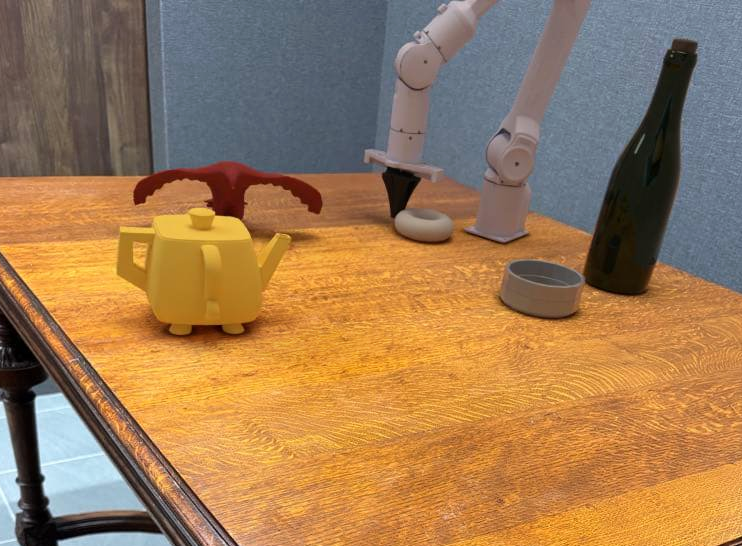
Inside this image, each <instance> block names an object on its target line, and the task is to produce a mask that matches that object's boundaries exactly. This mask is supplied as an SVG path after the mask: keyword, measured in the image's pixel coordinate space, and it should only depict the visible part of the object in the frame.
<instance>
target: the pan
mask: <svg viewBox="0 0 742 546" xmlns="http://www.w3.org/2000/svg"><path fill="white" fill-rule="evenodd" d="M585 284H586V280H585V277H584V276H583V274H582V273H581V272H580V271H578V270H576V269H573V268H572V267H569V266H567V265H563V264H560V263H557V262H554V261H548V260H543V259H533V258H532V259H531V258H521V259H513V260H511V261H508V262H506V263H505V266H504V271H503V274H502V280H501V284H500V290H499V293H498V296H499V298H501V300H502V301H503V303H504V304H505V305H506V306H507V307H509V308H510V309H513V310H514V311H517V312H519V313H523V314H525V315H528V316H534V317H538V318H548V319H557V318H559V319H560V318H566V317H568V316H570V315H572V314H574V313H575V312H578V309H579V305H580V303H581V298H582V295H583V291H584V288H585Z"/></svg>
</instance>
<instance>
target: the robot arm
mask: <svg viewBox="0 0 742 546" xmlns="http://www.w3.org/2000/svg"><path fill="white" fill-rule="evenodd" d="M499 1H501V0H464V1H463V0H462V1H460V0H451V1H450V2H449V3H448V4H446V3H442V4H441V5H440V6H438V8H437V9H436V10H437V12H438V14H437V15H436V16H435V17H434V18H433V19H432V20H431V21H430V22H429V23H428V24H427V25H426V26H425V27H424V28H423V29H422V30H420V31H419V30H416V31H415V33H413V35H412V36H413V38H414V41H411V42H407V43H405V44H404V45H402V46H401V48H399V50H398V52H397V56H396V57H395V59H394V60H393V68H394V71H395V75H396V76H397V77H396V81H395V82H396V83H395V87H394V90H395V91H394V95H393V99H392V109H391V116H390V125H389V134H388V141H387V142H388V143H387V150H386V151H382V150H377V149H374V148H370V149H364V157H363V162H364V163H365V164H369V165H370V164H372V165H376V166H380V167H383V168H386V169H385V171H383V172H381V180H382V181H383V184H384V187H385V189H386V194H387V198H388V206H389V213H390V218H391V219H394V220H395V217H396V216H397V214H398V213H399V212H401V211H402V210H406V209H407V205H408V204H409V201H410V198H411V196H412V195H413V193H414V192H415V190H416V188H417V187H418V185H419V184H420V182H421V181H422V179H424V180H427V181H430V183H433V184H438V183H439V184H440V183H442V182H443V180H444V173H445V169H444V168H441V167H438V166H436V165H433V164H431V163H428V162H427V161H424V160H422V159H423V152H424V145H425V139H426V130H427V123H428V114H429V108H430V96H431V87H432V84H433V83H434V82H435V81H436V80H437V77H438V74H439V70H440V67H444V66H445V65H446V64H447V63H448V62H449V61H450V60H452V58H454V56H455V55H457V54H458V52H460V50H461V49H463V48H464V47H465V46H466V44H468V43H469V42H470V41H471V40H472V39H473V38H474V37H475V36H476V33H477V27H478V21H479V20H480V19H481V18H482V17H483V16H484V15H485V14H486V13H487V12H489V11H490V10H491V9H492V8H493V7H494V6H496V5H497V4H498V3H499ZM552 1H553V5H552V7H551V9H550V12H549V15H548V17H547V19H546V21H545V24H544V26H543V30H542V32H541V35H540V37H539V40H538V42H537V44H536V47H535V49H534V52H533V55H532V57H531V60H530V62H529V65H528V67H527V70H526V72H525V73H524V74H525V75H524V77H523V80H522V82H521V85H520V87H519V89H518V91H517V95H516V97H515V100H514V102H513V104H512V106H511V110H510V111H509V113H508V114H507V115H506V116H505V117H504V118H503V120H501V123H500V125H499V128H498V129H497V131H496V132H495V133H494V134H493V135H492V136H491V137H490V139H489V140H488V142H487V143H486V145H485V148H484V149H485V150H484V151H485V152H484V157H485V161H486V163H487V165H488V167H487V170H486V171H485V172H484V175H483V176H484V177H483V181H482V186H481V192H480V197H479V201H478V208H477V213H476V217H475V218H476V219H475V224H473V225H470V226H468V227H465V228H464V232H466V233H470V234H473V235H476V236H479V237H482V238H485V239H487V240H488V239H489V240H492V241H495V242H498V243H502V244H505V243H508V242H511V241H513V240H516V239H518V238H521V237H523V236H527V235H529V231H528V230H526V229H525V226H526V223H527V218H528V213H529V209H530V204H531V200H532V190H531V187H530V184H529V183H528V182H527V181H528V179H529V177H530V176H531V175H532V173H533V172H534V170H535V166H536V152H537V148H538V146H539V144H540V135H541V134H540V132H541V131H540V128H541V123H542V120H543V118H544V115H545V113H546V111H547V109H548V106H549V104H550V102H551V100H552V97H553V93H554V92H555V89H556V87H557V85H558V83H559V80H560V78H561V76H562V72H563V70H564V68H565V66H566V63H567V62H568V60H569V57H570V54H571V52H572V49H573V47H574V44H575V42H576V40H577V38H578V35H579V33H580V31H581V28H582V25H583V23H584V21H585V19H586V17H587V14H588V11H589V9H590V8H591V7H590V6H591V4H592V0H552Z"/></svg>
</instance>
